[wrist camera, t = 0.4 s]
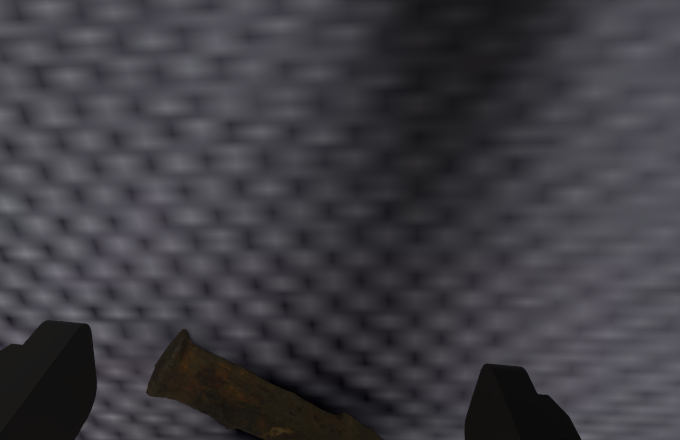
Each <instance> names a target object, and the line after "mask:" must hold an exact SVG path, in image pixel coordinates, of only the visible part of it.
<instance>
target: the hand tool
mask: <svg viewBox="0 0 680 440" xmlns="http://www.w3.org/2000/svg"><path fill="white" fill-rule="evenodd" d="M146 393H147V394H148V395H149V396H153V397H166V398H169V399H174V400H178V401H179V402H182V403H184V404H187V405H189V406H191V407H192V408H193V409H197V410H199V411H200V412H202V413H205V414H208V415H210V416H211V417H212V418H214V419H215V420H217V421H218V422H219V423H220V424H221V425H224V426H225V427H226V429H230V428H238V429H241V430H243V431H244V432H247V433H250V434H253V435H255V436H257V437H259V438H261V439H264V440H383V439H381V438H380V437H379V436H378V435H377V434H376V433H375V432H374V431H372V430H371V429H369V428H367V427H365V426H364V425H363V424H361V423H360V422H358V421H357V420H356V419H354V418H353V417H352V416H350V415H349V414H347V413H343V412H342V413H339V414H336V415H334V414H332V413H329V412H327V411H324V410H322V409H320V408H318V407H317V406H315V405H314V404H312V403H310V402H308V401H306V400H304V399H302V398H301V397H299V396H298V395H296V394H295V393H294V392H290V391H287V390H284V389H282V388H280V387H278V386H275V385H273V384H271V383H269V382H268V381H266V380H264V379H262V378H260V377H258V376H257V375H256V374H254V373H252V372H250V371H247V370H246V369H244V368H243V367H241V366H239V365H236V364H233V363H230V362H228V361H227V360H225V359H224V358H221V357H219V356H216V355H214V354H212V353H210V352H208V351H206V350H204V349H202V348H200V347H198V346H196V345H195V344H194V343H192V342H191V340H190V339H189V336H188V332H187V330H186V329H183V330H182V331H181V332H180V333H179V334H178V335H177V336H176V338H175V339H174V340H173V341H172V342H171V343H170V345H169V346H168V347H167V349H166V350H165V352H164V353H163V354H162V356H161V357H160V359H159V360H158V362H157V363H156V364H155V369H154V371H153V373H152V376H151V378H150V381H149V383H148V388H147V392H146Z"/></svg>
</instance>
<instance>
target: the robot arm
mask: <svg viewBox="0 0 680 440" xmlns="http://www.w3.org/2000/svg"><path fill="white" fill-rule="evenodd" d="M96 389H97V378H96V369H95V360H94V351H93V341H92V333H91V329H90V326H89V325H88V324H84V323H74V322H63V321H53V320H47V321H44V322H43V323H42V324H41V325H40V326H39V327H38V328H37V329H36V330H35V331H34V333H33V334H32V335H31V336H30V337H29V338H28V340H27V341H26V342H25V343H24V344H23V345H18V344H11V345H9V346H7V347H6V348H4V349H2V350H1V351H0V440H75V438H76V437H77V435H78V433H79V431H80V430H81V428H82V426H83V424H84V423H85V421H86V419H87V417H88V416H89V414H90V411H91V409H92V406H93V403H94V400H95V396H96ZM465 440H581V438H580V436H579V434H578V432H577V431H576V429H575V427H574V425H573V423H572V421H571V419H570V417H569V416H568V415H567V414H566V413H565V412H564V411H563V410H562V409H561V408H560V407H559V406H558V405H557V404H556V403H555V401H554V400H553V399H552V398H551V397H550V396H549V395H540V394H537V392H536V390H535V388H534V386H533V384H532V382H531V380H530V378H529V375H528V373H527V372H526V370H525V369H524V368H523V367H518V366H508V365H497V364H485V365H484V366H483V367H482V369H481V372H480V375H479V378H478V381H477V384H476V387H475V390H474V394H473V397H472V400H471V403H470V406H469V409H468V412H467V416H466V420H465Z"/></svg>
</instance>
